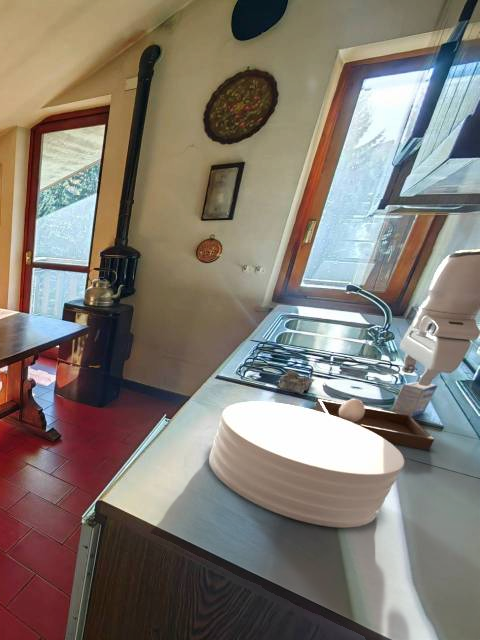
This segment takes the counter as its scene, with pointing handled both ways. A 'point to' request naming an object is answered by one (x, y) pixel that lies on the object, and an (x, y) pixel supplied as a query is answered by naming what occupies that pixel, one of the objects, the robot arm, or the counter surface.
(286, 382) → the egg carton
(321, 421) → the plate stack
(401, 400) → the medicine box
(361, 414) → the egg
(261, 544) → the counter surface
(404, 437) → the tray
